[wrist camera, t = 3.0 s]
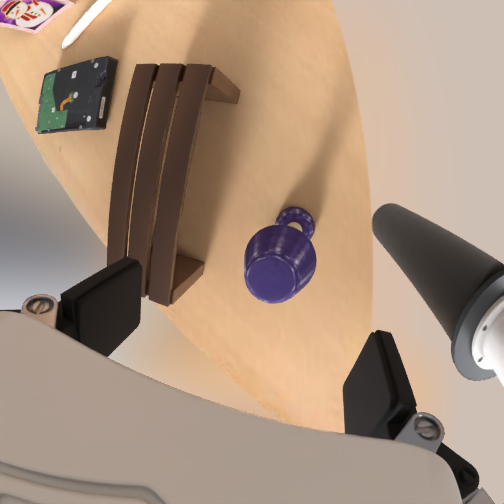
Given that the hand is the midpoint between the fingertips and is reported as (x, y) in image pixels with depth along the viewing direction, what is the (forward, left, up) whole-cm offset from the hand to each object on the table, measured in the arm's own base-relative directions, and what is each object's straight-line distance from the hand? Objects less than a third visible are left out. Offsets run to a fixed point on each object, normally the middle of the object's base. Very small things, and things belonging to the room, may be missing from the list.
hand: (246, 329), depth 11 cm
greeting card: (+50, -31, -22) cm, 62 cm away
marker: (+35, -27, -22) cm, 49 cm away
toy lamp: (0, 0, -22) cm, 22 cm away
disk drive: (+34, -11, -22) cm, 42 cm away
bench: (+13, -2, -22) cm, 25 cm away
